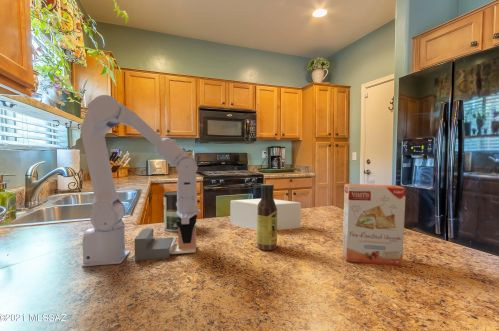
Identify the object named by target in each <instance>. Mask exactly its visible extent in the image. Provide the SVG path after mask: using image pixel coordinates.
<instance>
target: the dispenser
mask: <svg viewBox="0 0 499 331" xmlns="http://www.w3.org/2000/svg"><path fill="white" fill-rule="evenodd" d="M133 241H134V261H135V262H137V261H148V260H150V261H151V260H152V261H153V260H162V259H163V260H164V259H170V258H171V254H170V252H172V251H173V248H174V245H175V244H176V242H177V238H176V237H172V236H171V237H156V238H155V237H154V228H153V227H152V228H142V230H141V231H139V233H138V234H137V236H136V237H135V238H134V240H133Z"/></svg>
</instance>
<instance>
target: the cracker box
mask: <svg viewBox="0 0 499 331" xmlns="http://www.w3.org/2000/svg"><path fill="white" fill-rule="evenodd" d="M343 187H344V189H343V192H344V193H343V194H344V195H343V196H344V198H343V223H342V224H343V226H342V228H343V229H342V255H343V256H344V259H345V261H346V262H351V263H352V262H353V263H364V264H371V265H373V264H375V265H385V266H396V267H403V258H404V255H403V254H404V236H405V235H404V234H405V213H406V212H405V211H406V193H407V192H406V191H407V190H406V188H405V187H403V186H400V185H396V184H395V185H393V184H391V185H390V184H372V183H371V184H369V183H368V184H367V183H366V184H364V183H344V186H343Z"/></svg>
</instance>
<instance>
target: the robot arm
mask: <svg viewBox="0 0 499 331" xmlns="http://www.w3.org/2000/svg"><path fill="white" fill-rule="evenodd" d="M86 110H87V111H86V113H85V115H84V119H83V121H82V122H81V126H80V135H81V139H82V145H83V149H84V154H85V158H86V159H85V160H86V163H87V167H88V168H87V169H88V173H89V178H90V182H91V186H92V190H93V199H92V202H91V208H92V213H91V215H90V223H91V225H92V227H90V228H87V229H86V230H85V232H84V234H83V237H82V263H81V267H93V266H106V265H117V264H121V263H123V262H124V260H125V259H126V258H127V256H128V255H129V254H130V252H131V250H130V249H129V250H127V249H126V243H125V242H126V238H125V235H126V233H125V230H126V229H125V222H124V221H123V217H124V216H125V215H126V212H127V211H126V207H125V204H124V203H123V202H122V200H121V198H120V194H119V193H118V192H117V189H116V185H115V181H114V176H113V175H114V174H113V172H112V171H113V170H112V167H111V165H112V164H111V162H110V161H111V160H110V157H109V156H110V155H109V152H108V151H109V150H108V146H107V143H106V141H107V140H106V137H105V136H106V135H107V133H109V131H111V130H112V129H113V128H114V127H116V126H118V125H120V124H122V125H124V126H128V127H131V128H133V129H134V130H136V132H137V133H139V134H141V135H142V137H144V138H145V139H146V140H148V141H149V142H150V143H151V144H153V145H154V153H156V154H157V155H158V156H159V157H160V158H161V159H163V160H164V161H165V162H166V163H167V164H169V165H170V167H175V169H176V172H177V181H176V191H177V215H178V216H179V217H178V220H177V221H176V223H177V225H178V227H179V229H180V232H181V236H182V240H183V243H184V244H185V243H191V239H192V232H193V228H194V225H196V223H197V217H198V214H201V213H202V211H201V209H198V205H197V204H198V201H197V199H198V198H197V197H198V192H197V190H198V188H197V186H198V185H197V184H198V182H197V181H198V180H197V172H198V164H197V161H196V160H195V158H193V157H191V156H189V154H190V153H189V152H188V151H185V150H184V149H183V148H182V147H180V146H179V145H178V144H177V140H176V139H175V138H173V139H171V138H170V137H162V136H161V135H160V134H159V133H157V131H156V130H154V129H153V128H152V126H150V125H149V124H148V123H147V122H146V121H145V120H143V118H141V117H140V115H138V114H137V113H136V112H134V111H133V110H132V109H130V108H129V107H127V106H125V104H123V103H121V102H118V101H117V99H116V98H115V97H113V96H111V95H108V94H101V95H100V94H99V95H98V96H96V97H95V98H94V99H92V100H91V101H90V102H89V103H87V109H86Z"/></svg>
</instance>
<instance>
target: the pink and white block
mask: <svg viewBox="0 0 499 331" xmlns="http://www.w3.org/2000/svg"><path fill="white" fill-rule="evenodd" d="M177 235H178V237H177V238H178V239H177V243H175V245H174V248H173V251H172V252H170V255H177V254H178V255H179V254H188V253H189V254H191V253H196V250H197V226H196V224H195V225H194V228H193V232H192V239H191V243H185V244H184V243H183V240H182V236H181V232H180V229H179V228H178V231H177Z"/></svg>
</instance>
